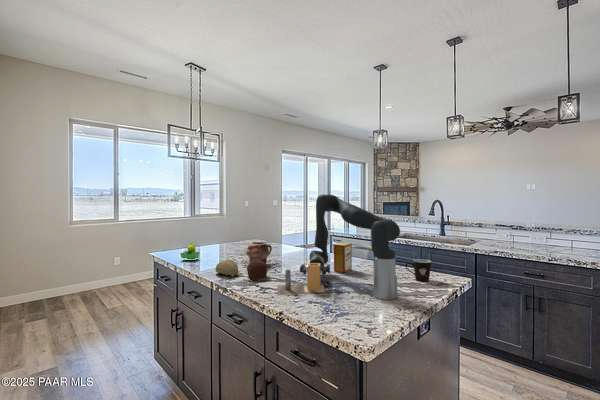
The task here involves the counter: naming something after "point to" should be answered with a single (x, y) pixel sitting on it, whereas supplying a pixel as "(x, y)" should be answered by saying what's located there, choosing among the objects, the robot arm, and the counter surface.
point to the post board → (296, 287)
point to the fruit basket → (190, 252)
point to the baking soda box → (342, 257)
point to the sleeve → (313, 276)
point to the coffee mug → (421, 269)
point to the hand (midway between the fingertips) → (314, 272)
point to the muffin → (257, 270)
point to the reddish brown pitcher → (258, 251)
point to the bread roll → (227, 267)
